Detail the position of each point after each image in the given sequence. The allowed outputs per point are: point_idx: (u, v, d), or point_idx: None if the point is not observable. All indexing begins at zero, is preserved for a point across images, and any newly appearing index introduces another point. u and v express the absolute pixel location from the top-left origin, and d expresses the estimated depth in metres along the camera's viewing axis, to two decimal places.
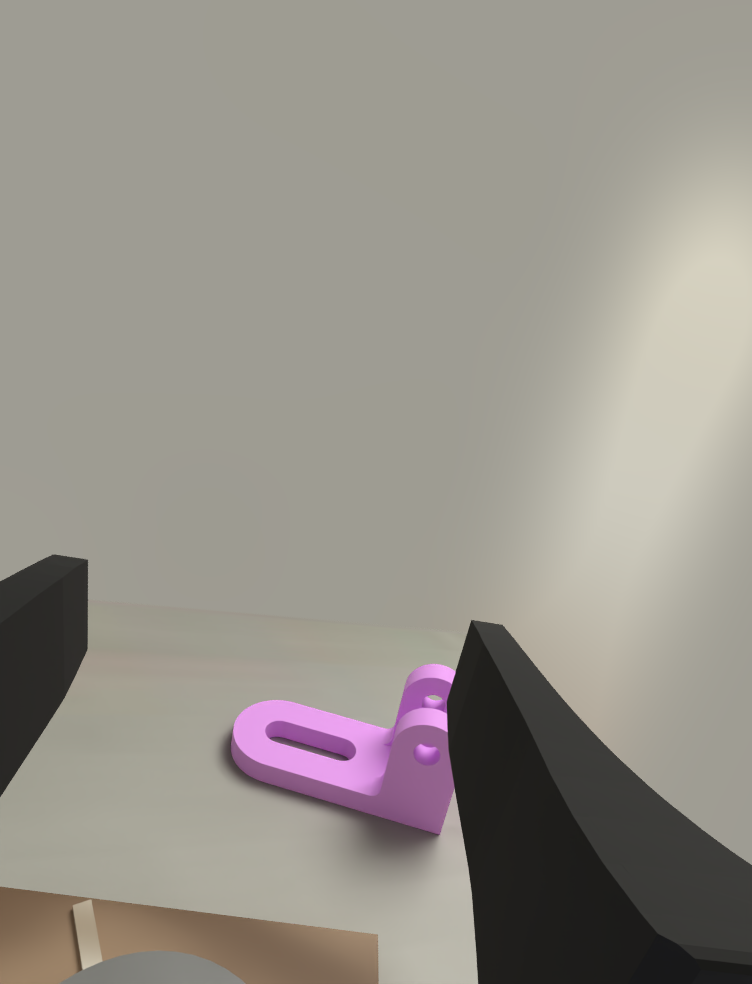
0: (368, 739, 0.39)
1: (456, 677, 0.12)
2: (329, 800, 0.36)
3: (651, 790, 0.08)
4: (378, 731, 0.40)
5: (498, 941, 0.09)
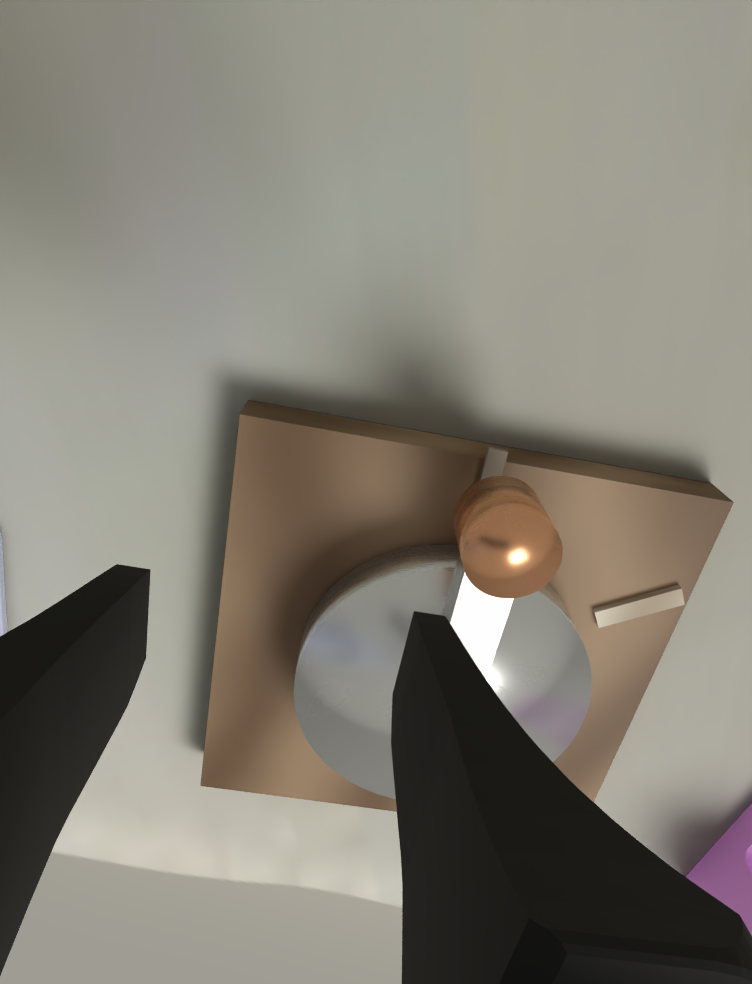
0: None
1: (400, 669, 0.12)
2: None
3: (565, 778, 0.08)
4: None
5: (418, 932, 0.09)
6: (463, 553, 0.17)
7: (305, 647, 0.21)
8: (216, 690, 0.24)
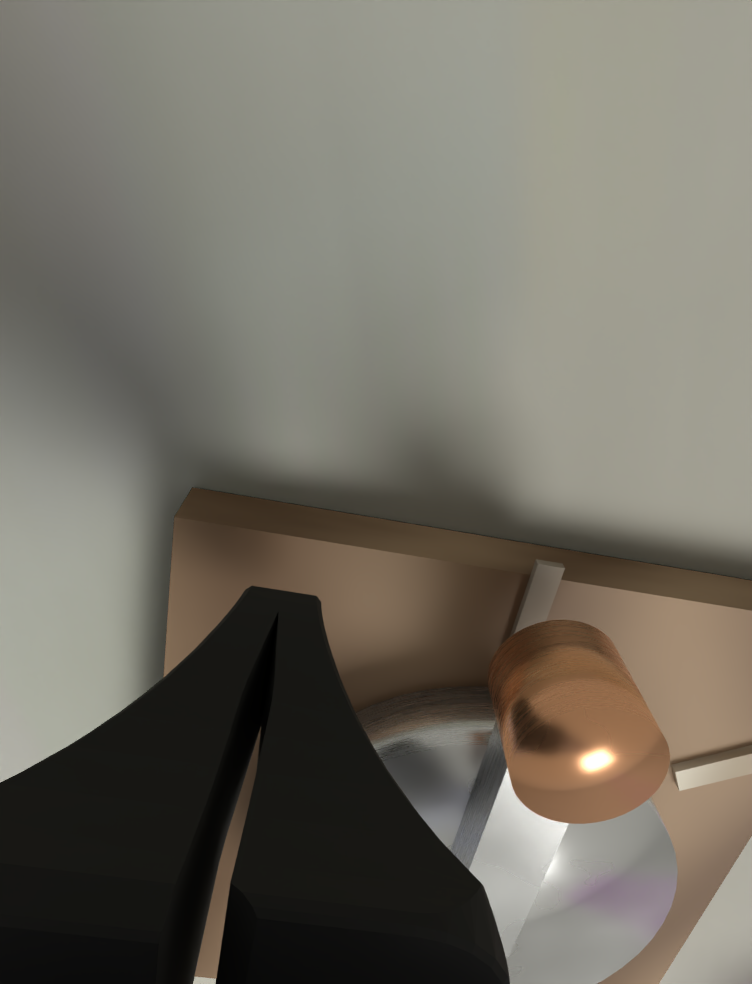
0: None
1: None
2: None
3: (370, 751, 0.08)
4: None
5: None
6: (512, 764, 0.11)
7: None
8: None
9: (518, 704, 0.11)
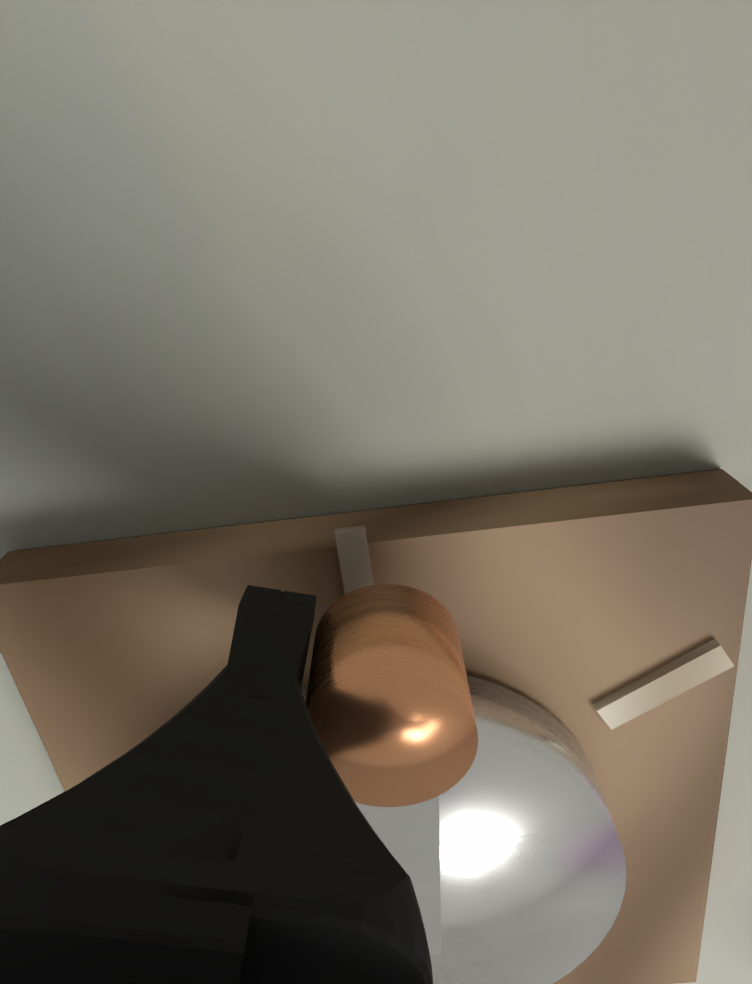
0: None
1: None
2: None
3: (314, 743, 0.08)
4: None
5: None
6: None
7: None
8: None
9: (309, 688, 0.10)
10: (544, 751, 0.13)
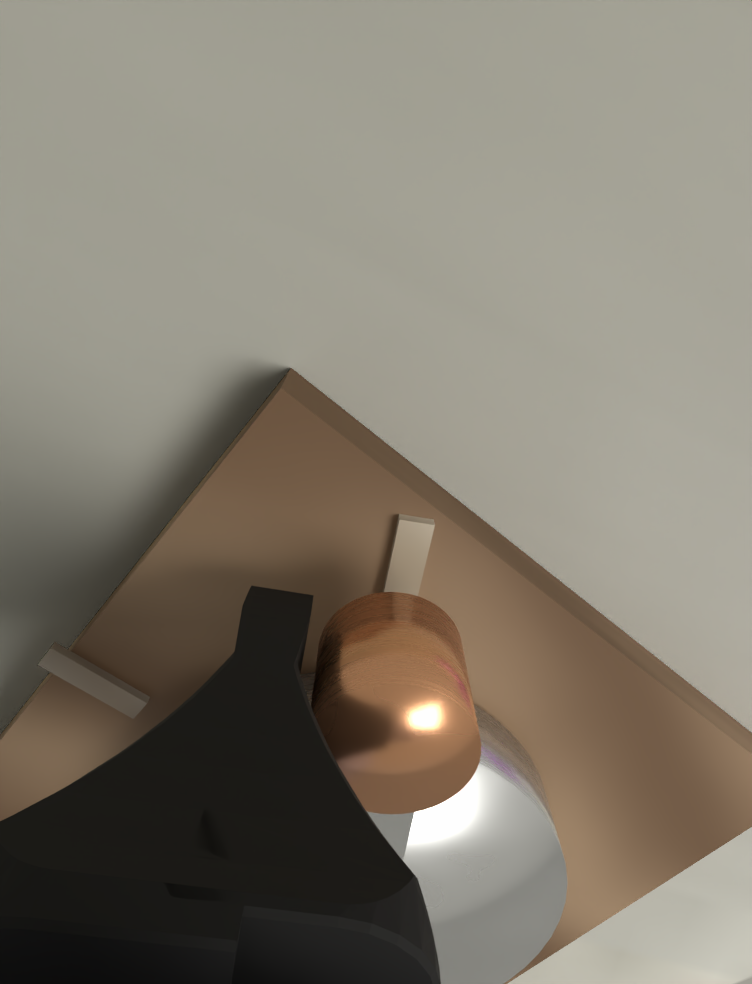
0: None
1: None
2: None
3: (320, 744, 0.08)
4: None
5: None
6: None
7: None
8: None
9: (320, 684, 0.10)
10: (513, 777, 0.13)
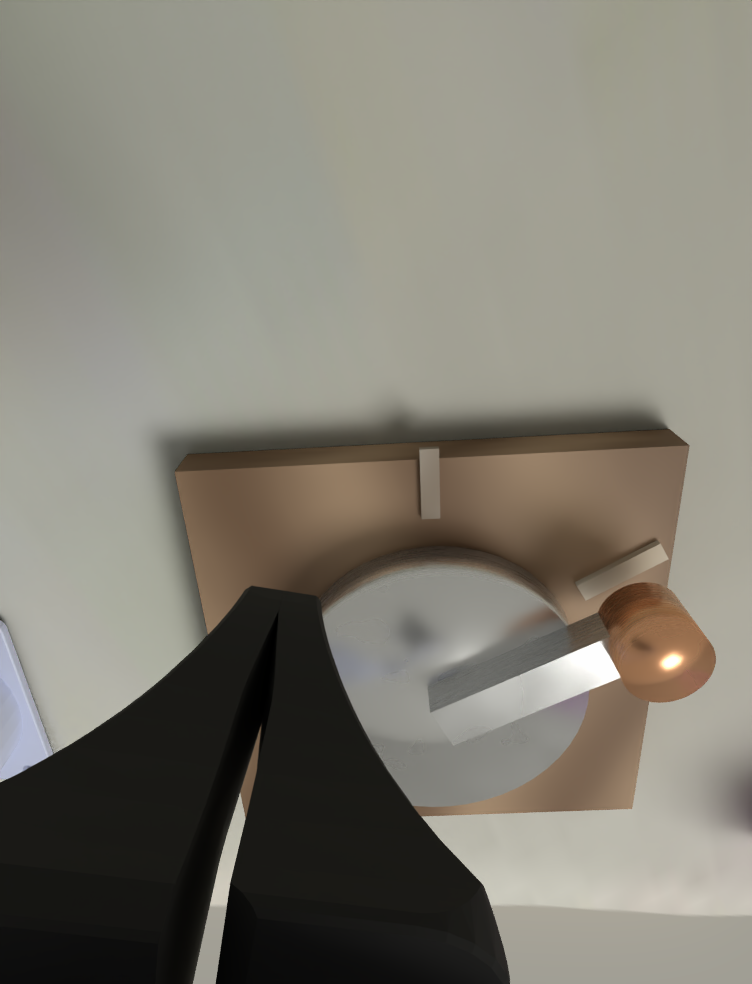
0: None
1: None
2: None
3: (370, 751, 0.08)
4: None
5: None
6: (647, 636, 0.18)
7: (401, 579, 0.20)
8: None
9: (660, 613, 0.18)
10: None
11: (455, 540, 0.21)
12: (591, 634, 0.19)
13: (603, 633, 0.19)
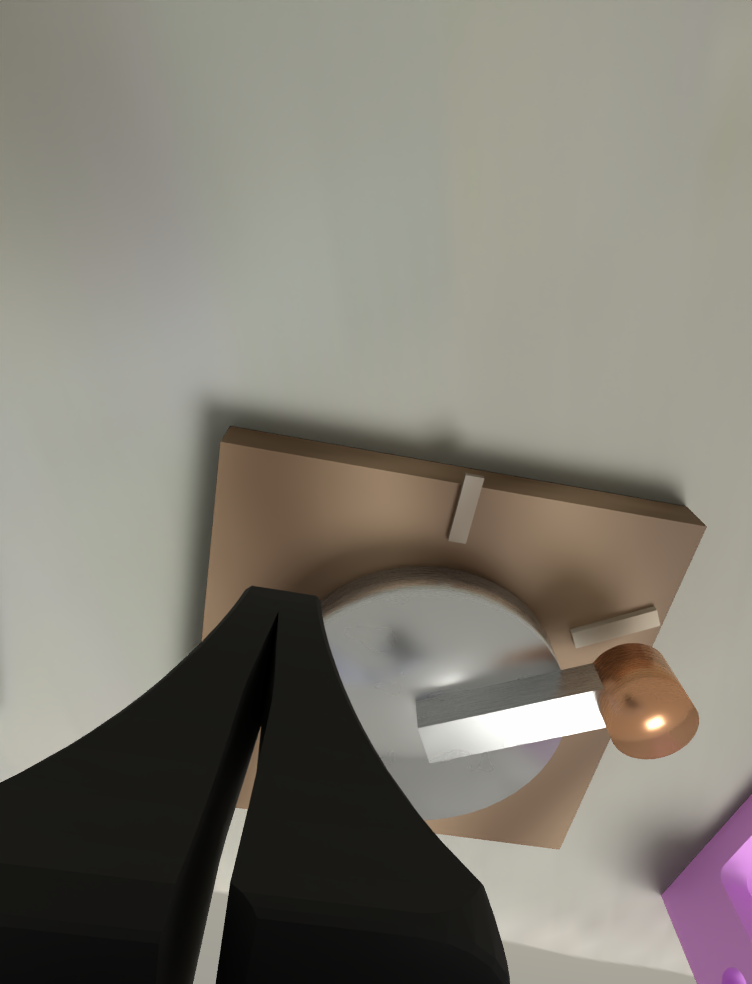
0: None
1: None
2: (737, 813, 0.29)
3: (370, 751, 0.08)
4: None
5: None
6: (644, 696, 0.19)
7: (421, 595, 0.20)
8: None
9: (657, 676, 0.19)
10: None
11: (472, 567, 0.22)
12: (586, 682, 0.20)
13: (598, 684, 0.20)
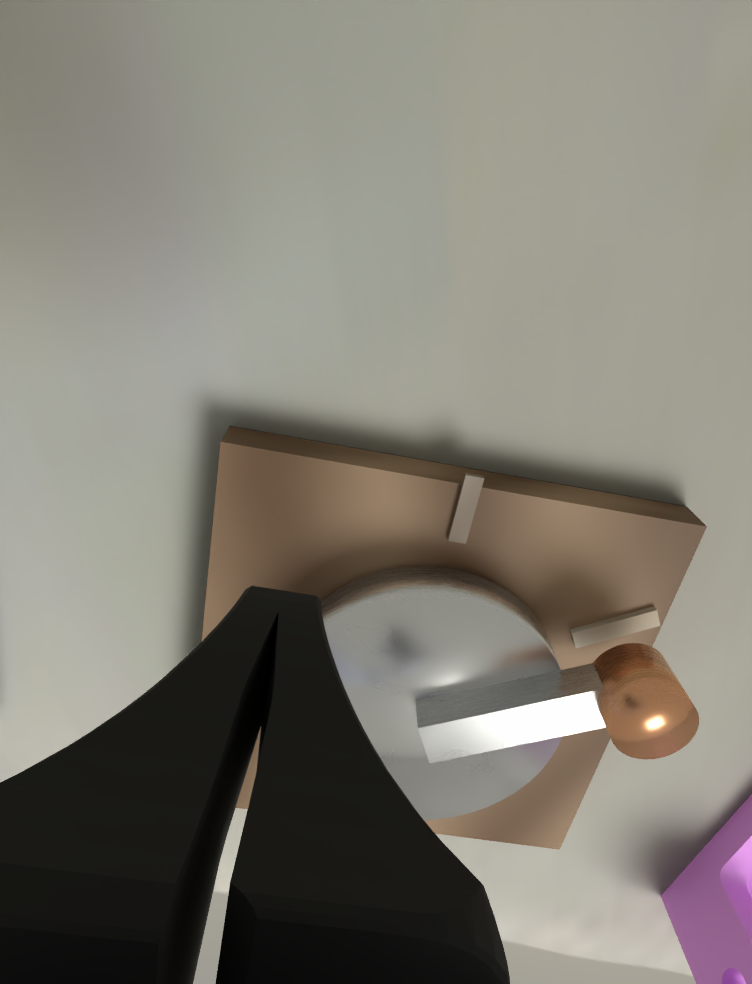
0: None
1: None
2: (736, 813, 0.29)
3: (370, 751, 0.08)
4: None
5: None
6: (644, 696, 0.19)
7: (421, 595, 0.20)
8: None
9: (657, 676, 0.19)
10: None
11: (472, 567, 0.22)
12: (586, 682, 0.20)
13: (598, 684, 0.20)
